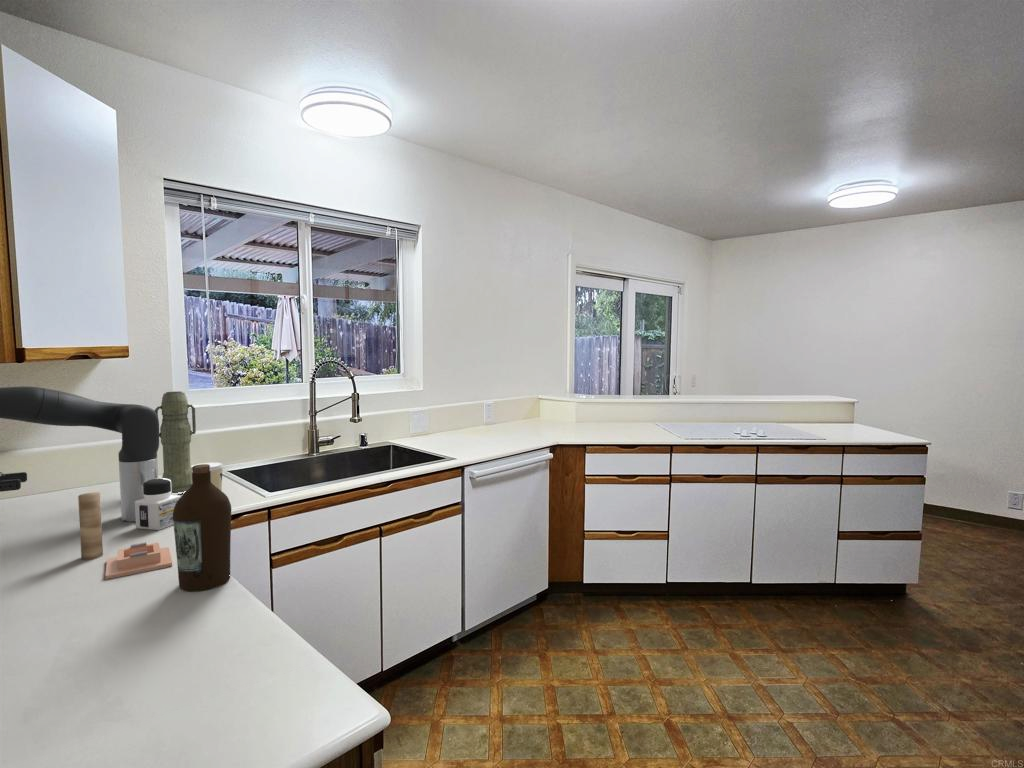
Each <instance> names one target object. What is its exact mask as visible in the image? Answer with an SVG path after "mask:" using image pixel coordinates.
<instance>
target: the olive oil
mask: <svg viewBox="0 0 1024 768" xmlns="http://www.w3.org/2000/svg"><path fill="white" fill-rule="evenodd" d="M194 465H195V464H194ZM192 470H193V473H192V482H193V483H192V485H191V487H190V488H189V489H188V490H187V491H186V492H185V493H184V494H181V496H180V499H179V500H178V501H177V503H176V505H175V507H174V511H173V518H172V520H173V525H172V526H173V533H174V542H175V544H174V545H175V553H176V554H175V555H176V562H177V563H176V564H177V575H178V587H179V589H180V590H181V591H185V592H203V591H209V590H212V589H215V588H217V587H220V586H222V585H224V584H225V583H227V582H228V581H229V580H230V579H231V543H232V542H231V541H232V540H231V534H232V533H231V532H232V504H231V501H230V499H229V496H227V494H226V493H225V492H223V491H221V490H220V489H218V488H217V487H216V486H215V485H213V484H212V483H211V471H210V465H208V464H201V465H195V466H193V467H192ZM229 575H230V576H229Z"/></svg>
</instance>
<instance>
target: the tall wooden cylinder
mask: <svg viewBox="0 0 1024 768" xmlns="http://www.w3.org/2000/svg"><path fill="white" fill-rule="evenodd" d="M77 499H78V514H79V515H78V517H79V520H78V522H79V538H80V539H79V540H80V554H81V555H80V556H81V560H83V561H87V560H88V561H89V560H94V558H95V559H98V558H100V557H102V556H104V552H103V547H104V546H103V533H102V531H103V530H102V528H103V527H102V510H101V492H94V491H93V492H86V493H82V494H81V493H80V494H79V495H78V497H77Z"/></svg>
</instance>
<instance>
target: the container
mask: <svg viewBox="0 0 1024 768" xmlns="http://www.w3.org/2000/svg"><path fill="white" fill-rule="evenodd" d="M143 493H144V497H145V498H144V499H141V500H138V501H135V516H136V521H135V528H136V529H138V528H139V530H141V529H142V530H150V531H151V530H154V531H160V530H163V529H167V528H168V527H171V526H174V525H173V520H172V518H173V511H174V507H175V505H176V503H177V501H178V500H179V499H180V497H181V496H180V495H170V494H172V489H171V480H170V479H166V478H162V477H160V478H159V477H158V478H157V479H151V480H148V481H146V482H144V484H143Z"/></svg>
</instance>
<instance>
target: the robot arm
mask: <svg viewBox="0 0 1024 768" xmlns="http://www.w3.org/2000/svg"><path fill="white" fill-rule="evenodd" d="M154 410H155V409H153V408H151V407H149V406H147V405H142V404H133V403H116V402H105V401H98V400H94V399H90V398H87V397H84V396H80V395H77V394H75V393H74V394H73V393H70V392H65V391H62V390H56V389H50V388H43V387H37V386H8V387H0V419H5V420H11V421H20V422H26V423H31V424H32V423H33V424H40V425H47V426H57V427H58V426H59V427H90V428H91V427H93V428H98V429H103V430H107V431H112V432H116V433H120V434H121V447H120V450H119V451H118V471H119V472H118V473H119V491H120V495H119V496H120V498H119V499H120V514H121V515H120V516H121V519H122V520H121V521H123V520H126V521H125V522H136V516H135V501H138V500H141V499H144V498H145V497H144V493H143V484H144V482H146V481H148V480H151V479H157V478H159V469H158V450H159V448H160V437H159V434H160V421H159V415H158V416H157V413H156V412H155V411H154ZM27 481H28V473H27V471H21V472H20V471H19V472H12V473H9V472H8V473H4V472H2V471H0V492H3V493H4V492H11V491H18V490H20V489H21V488H22V483H26V482H27Z"/></svg>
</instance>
